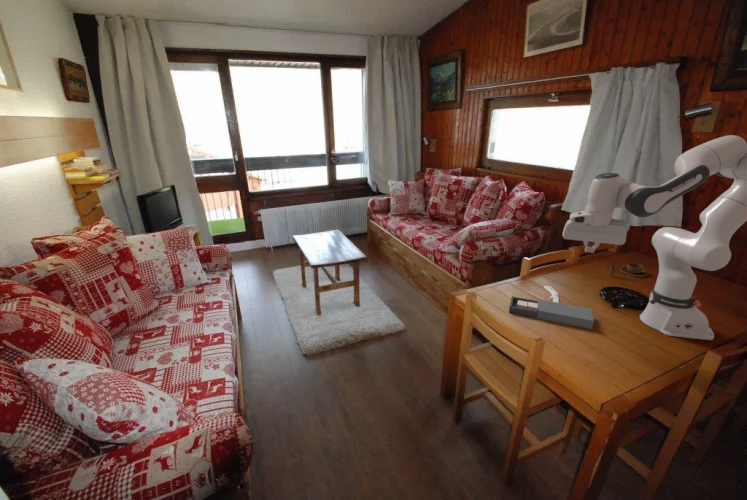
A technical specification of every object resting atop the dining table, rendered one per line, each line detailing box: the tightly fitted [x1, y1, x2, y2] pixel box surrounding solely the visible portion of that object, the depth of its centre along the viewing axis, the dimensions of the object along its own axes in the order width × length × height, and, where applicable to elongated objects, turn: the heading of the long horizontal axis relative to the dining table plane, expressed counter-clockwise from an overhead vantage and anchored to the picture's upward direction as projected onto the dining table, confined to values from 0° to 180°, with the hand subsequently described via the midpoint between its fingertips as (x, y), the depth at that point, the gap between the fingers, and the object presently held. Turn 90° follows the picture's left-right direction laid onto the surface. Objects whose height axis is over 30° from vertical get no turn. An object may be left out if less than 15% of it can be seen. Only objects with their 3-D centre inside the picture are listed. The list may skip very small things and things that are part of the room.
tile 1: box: [517, 300, 528, 309], centre depth 147 cm, size 4×4×2 cm
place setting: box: [609, 262, 649, 280], centre depth 178 cm, size 18×20×6 cm
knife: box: [543, 285, 560, 303], centre depth 160 cm, size 30×2×8 cm
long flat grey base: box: [536, 298, 595, 330], centre depth 140 cm, size 20×10×4 cm, turn 64°
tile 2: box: [527, 302, 538, 311], centre depth 145 cm, size 4×4×2 cm
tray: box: [508, 296, 539, 319], centre depth 147 cm, size 11×10×3 cm
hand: (589, 251), depth 128 cm, fingers closed
